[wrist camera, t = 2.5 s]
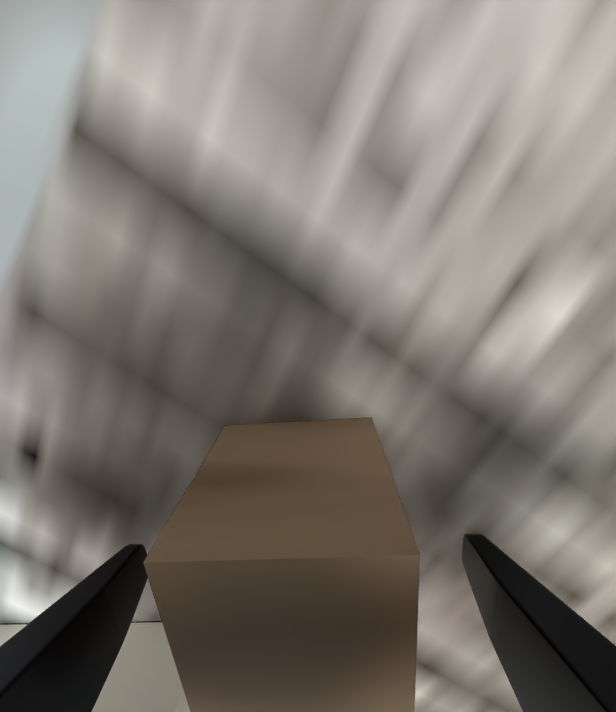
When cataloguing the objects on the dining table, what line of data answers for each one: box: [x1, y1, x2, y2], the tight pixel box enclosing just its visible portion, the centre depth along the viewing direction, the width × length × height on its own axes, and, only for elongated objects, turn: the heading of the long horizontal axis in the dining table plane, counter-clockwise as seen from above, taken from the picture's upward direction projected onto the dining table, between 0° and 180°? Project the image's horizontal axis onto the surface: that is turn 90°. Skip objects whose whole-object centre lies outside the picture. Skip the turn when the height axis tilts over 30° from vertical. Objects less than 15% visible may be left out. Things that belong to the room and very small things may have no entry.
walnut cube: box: [143, 418, 420, 712], centre depth 8 cm, size 5×5×5 cm
